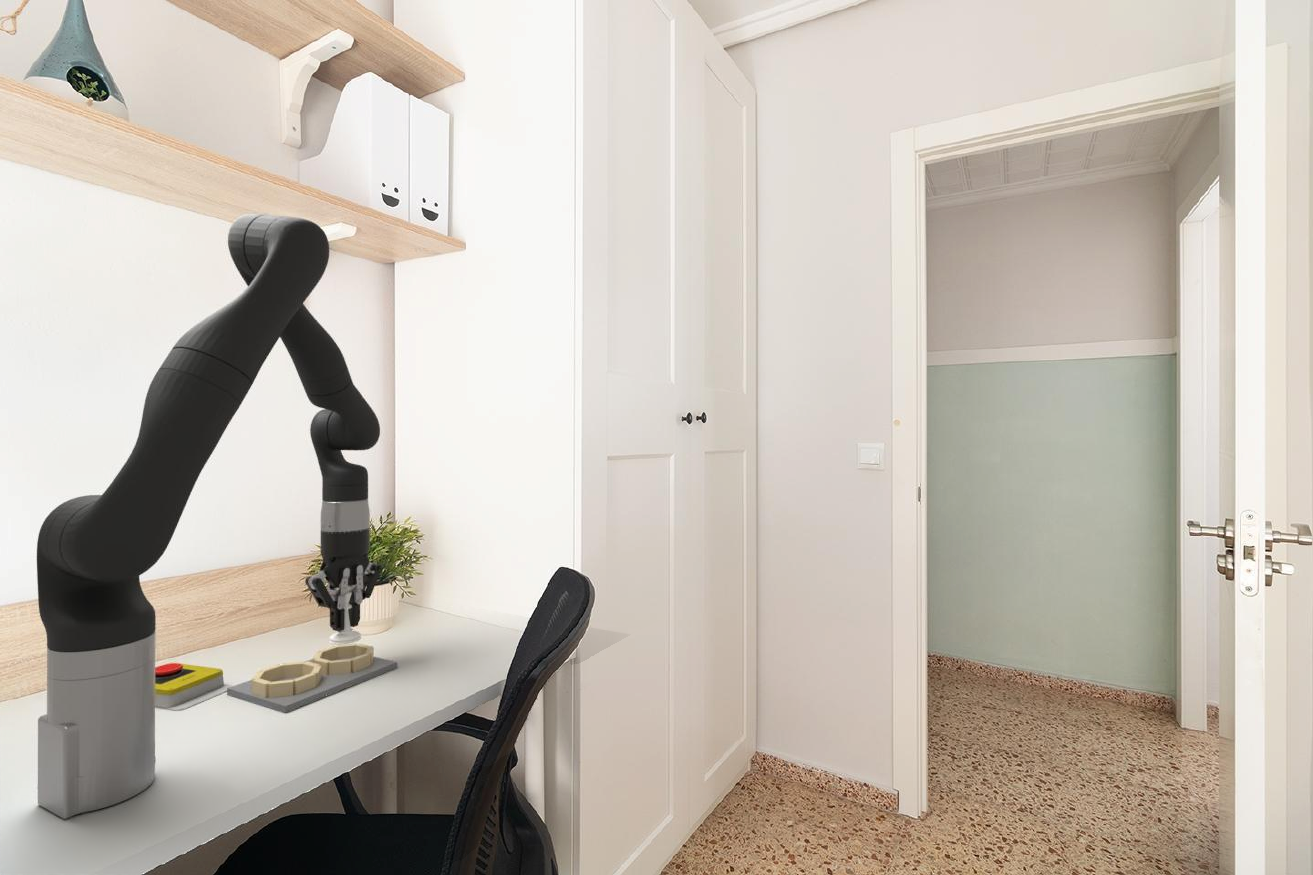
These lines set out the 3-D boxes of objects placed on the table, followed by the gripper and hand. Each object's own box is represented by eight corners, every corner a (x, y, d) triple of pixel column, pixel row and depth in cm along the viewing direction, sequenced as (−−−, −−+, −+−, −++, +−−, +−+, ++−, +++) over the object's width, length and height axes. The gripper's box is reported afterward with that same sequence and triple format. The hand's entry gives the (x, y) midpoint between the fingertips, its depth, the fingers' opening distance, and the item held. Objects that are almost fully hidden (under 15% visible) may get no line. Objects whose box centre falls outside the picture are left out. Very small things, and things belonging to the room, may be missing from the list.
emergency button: (165, 653, 105) (237, 662, 101) (165, 679, 105) (237, 690, 101) (103, 673, 96) (180, 684, 92) (103, 702, 96) (180, 715, 92)
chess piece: (367, 636, 110) (367, 578, 110) (348, 645, 106) (348, 585, 106) (342, 634, 111) (342, 577, 111) (322, 643, 107) (322, 583, 107)
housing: (285, 713, 92) (285, 692, 92) (227, 694, 98) (227, 675, 98) (397, 667, 110) (397, 650, 110) (341, 654, 116) (341, 638, 116)
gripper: (322, 534, 100) (322, 643, 101) (394, 522, 113) (394, 620, 113) (292, 530, 104) (292, 636, 104) (365, 519, 116) (364, 614, 116)
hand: (345, 627), depth 109 cm, fingers closed on chess piece
